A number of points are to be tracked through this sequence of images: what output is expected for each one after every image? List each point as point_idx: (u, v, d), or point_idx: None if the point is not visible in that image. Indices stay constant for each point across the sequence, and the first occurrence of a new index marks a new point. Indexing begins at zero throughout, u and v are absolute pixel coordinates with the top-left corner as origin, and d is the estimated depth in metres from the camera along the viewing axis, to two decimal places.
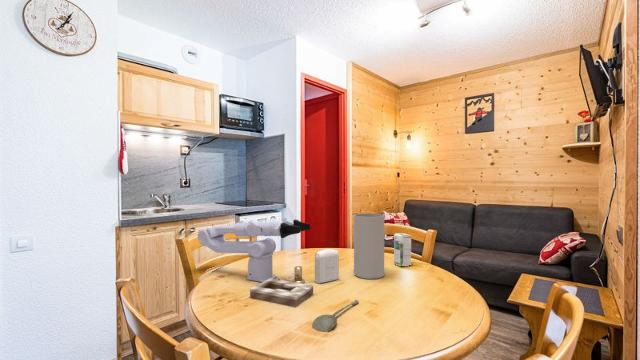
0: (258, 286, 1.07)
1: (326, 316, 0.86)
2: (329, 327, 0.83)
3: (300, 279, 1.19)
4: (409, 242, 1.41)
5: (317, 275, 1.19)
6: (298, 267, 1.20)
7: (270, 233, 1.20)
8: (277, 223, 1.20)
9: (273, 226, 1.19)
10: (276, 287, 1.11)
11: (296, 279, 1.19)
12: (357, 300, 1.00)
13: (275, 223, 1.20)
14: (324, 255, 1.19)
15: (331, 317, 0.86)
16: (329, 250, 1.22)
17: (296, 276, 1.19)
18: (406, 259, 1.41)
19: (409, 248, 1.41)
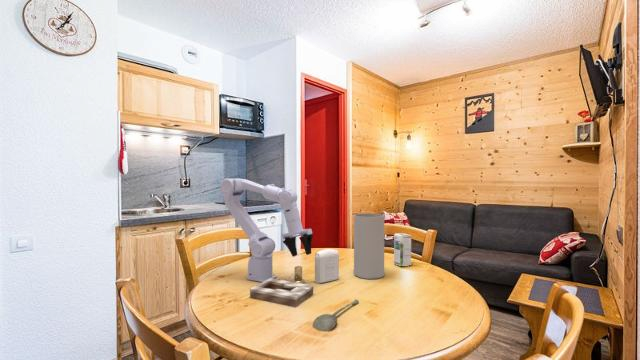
0: (258, 286, 1.07)
1: (326, 316, 0.86)
2: (330, 327, 0.83)
3: (300, 279, 1.19)
4: (409, 242, 1.41)
5: (317, 275, 1.19)
6: (298, 267, 1.20)
7: (287, 220, 1.18)
8: None
9: (300, 222, 1.19)
10: (276, 287, 1.11)
11: (296, 279, 1.19)
12: (357, 300, 1.00)
13: None
14: (324, 255, 1.19)
15: (331, 317, 0.86)
16: (329, 250, 1.22)
17: (296, 276, 1.19)
18: (406, 259, 1.41)
19: (409, 248, 1.41)
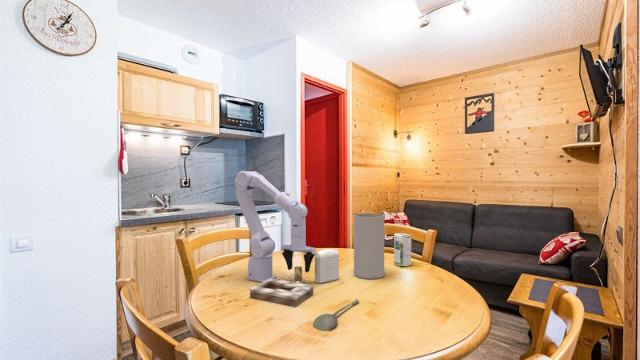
0: (258, 286, 1.07)
1: (327, 315, 0.86)
2: (330, 326, 0.83)
3: (300, 279, 1.19)
4: (409, 242, 1.41)
5: (317, 275, 1.19)
6: (298, 267, 1.20)
7: (292, 234, 1.18)
8: None
9: (305, 238, 1.20)
10: (276, 287, 1.11)
11: (296, 279, 1.19)
12: (358, 300, 1.00)
13: None
14: (324, 255, 1.19)
15: (332, 316, 0.86)
16: (329, 250, 1.22)
17: (296, 276, 1.19)
18: (406, 259, 1.41)
19: (409, 248, 1.41)
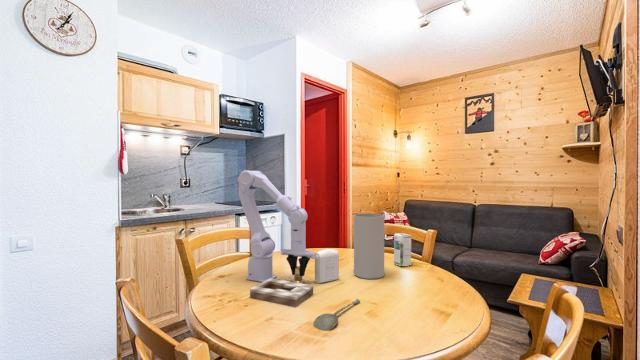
0: (258, 286, 1.07)
1: (327, 315, 0.87)
2: (330, 326, 0.83)
3: (300, 279, 1.19)
4: (409, 242, 1.41)
5: (317, 275, 1.19)
6: (298, 267, 1.20)
7: (292, 239, 1.18)
8: None
9: (305, 243, 1.20)
10: (276, 287, 1.11)
11: (296, 279, 1.19)
12: (358, 299, 1.00)
13: None
14: (324, 255, 1.19)
15: (332, 316, 0.86)
16: (329, 250, 1.22)
17: (296, 276, 1.19)
18: (406, 259, 1.41)
19: (409, 248, 1.41)
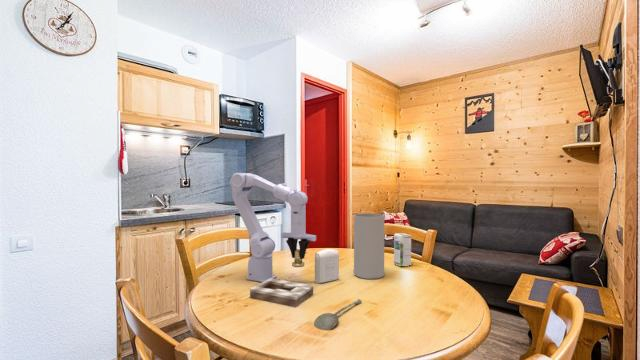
0: (258, 286, 1.07)
1: (328, 315, 0.87)
2: (331, 326, 0.84)
3: (300, 262, 1.19)
4: (409, 242, 1.41)
5: (317, 275, 1.19)
6: (298, 250, 1.20)
7: (292, 222, 1.18)
8: None
9: (305, 226, 1.20)
10: (276, 287, 1.11)
11: (296, 262, 1.19)
12: None
13: None
14: (324, 255, 1.19)
15: (333, 316, 0.87)
16: (329, 250, 1.22)
17: (296, 259, 1.19)
18: (406, 259, 1.41)
19: (409, 248, 1.41)
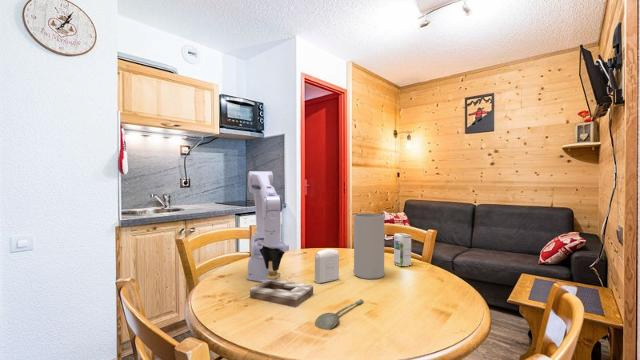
0: (258, 286, 1.07)
1: (329, 314, 0.87)
2: (331, 325, 0.84)
3: (274, 274, 1.07)
4: (409, 242, 1.41)
5: (317, 275, 1.19)
6: None
7: None
8: (280, 237, 1.09)
9: (279, 234, 1.08)
10: (276, 287, 1.11)
11: (269, 273, 1.07)
12: None
13: None
14: (324, 255, 1.19)
15: (334, 315, 0.87)
16: (329, 250, 1.22)
17: (269, 270, 1.07)
18: (406, 259, 1.41)
19: (409, 248, 1.41)
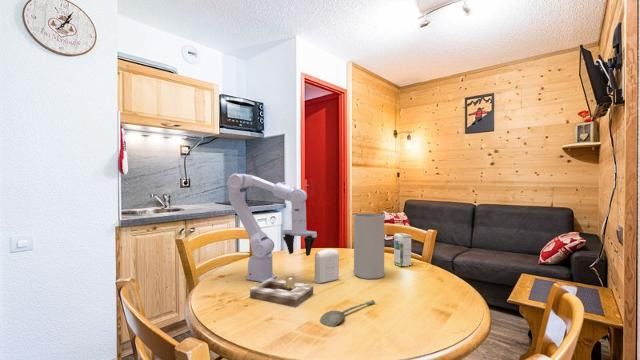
0: (258, 286, 1.07)
1: (334, 312, 0.89)
2: (335, 323, 0.85)
3: None
4: (409, 242, 1.41)
5: (317, 275, 1.19)
6: (290, 277, 1.05)
7: (293, 219, 1.20)
8: None
9: None
10: (276, 287, 1.11)
11: None
12: (373, 300, 1.00)
13: None
14: (324, 255, 1.19)
15: (339, 313, 0.88)
16: (329, 250, 1.22)
17: (287, 288, 1.04)
18: (406, 259, 1.41)
19: (409, 248, 1.41)
